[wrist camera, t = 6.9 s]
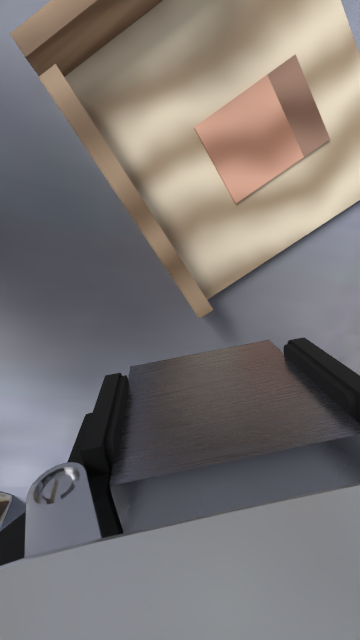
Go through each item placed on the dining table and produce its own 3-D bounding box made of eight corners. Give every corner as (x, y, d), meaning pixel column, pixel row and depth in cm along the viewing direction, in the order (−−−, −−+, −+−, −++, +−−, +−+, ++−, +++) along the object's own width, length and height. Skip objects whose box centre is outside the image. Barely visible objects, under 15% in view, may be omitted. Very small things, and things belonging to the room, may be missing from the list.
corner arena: (39, 75, 26) (9, 33, 20) (289, -121, 24) (329, -226, 18) (193, 306, 33) (200, 320, 28) (394, 174, 31) (445, 161, 26)
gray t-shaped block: (130, 366, 12) (109, 485, 6) (268, 340, 12) (368, 432, 7) (168, 522, 15) (177, 705, 9) (281, 498, 15) (361, 662, 9)
